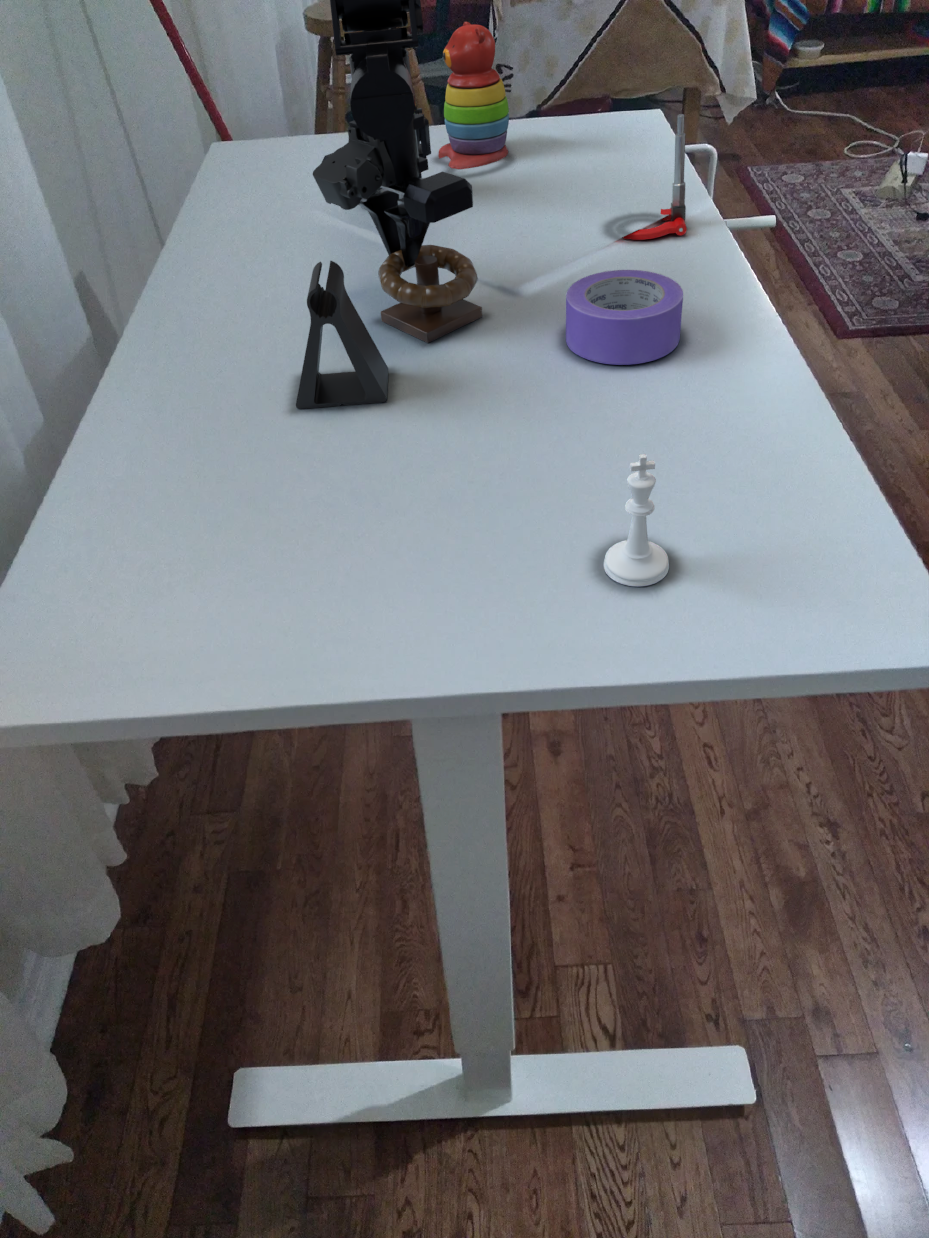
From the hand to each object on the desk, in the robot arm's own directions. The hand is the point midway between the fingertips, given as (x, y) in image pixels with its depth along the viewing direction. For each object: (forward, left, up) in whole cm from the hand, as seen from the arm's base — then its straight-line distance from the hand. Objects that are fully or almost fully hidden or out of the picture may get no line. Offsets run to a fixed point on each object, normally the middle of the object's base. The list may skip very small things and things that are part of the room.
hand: (403, 263), depth 106 cm
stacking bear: (-30, +38, -6) cm, 49 cm away
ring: (+4, 0, 0) cm, 4 cm away
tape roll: (+23, +10, -6) cm, 26 cm away
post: (+4, 0, -5) cm, 7 cm away
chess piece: (+48, -17, -6) cm, 51 cm away
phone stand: (+9, -16, -6) cm, 19 cm away
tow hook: (+6, +34, -6) cm, 35 cm away
